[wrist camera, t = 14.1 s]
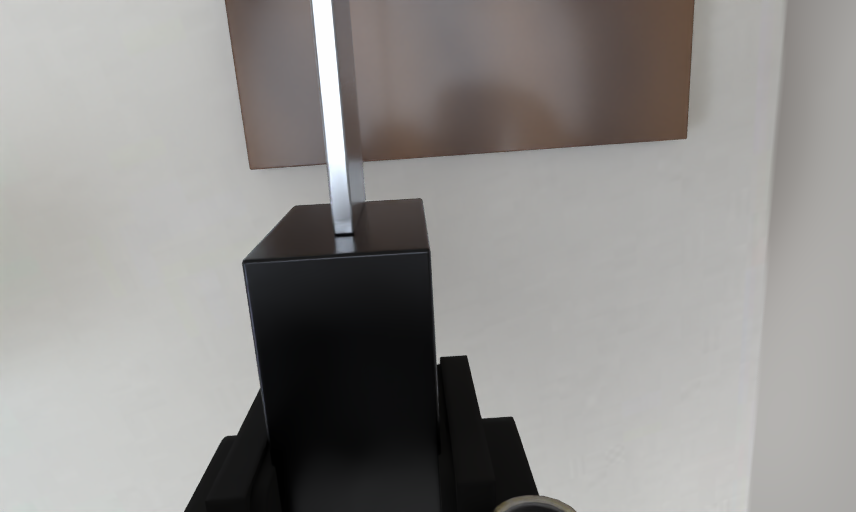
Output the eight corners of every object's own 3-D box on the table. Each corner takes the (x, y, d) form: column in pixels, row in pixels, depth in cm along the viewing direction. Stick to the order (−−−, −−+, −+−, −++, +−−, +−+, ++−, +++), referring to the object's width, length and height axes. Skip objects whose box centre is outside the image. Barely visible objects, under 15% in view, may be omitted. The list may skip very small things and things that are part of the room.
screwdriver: (444, 585, 13) (458, 759, 10) (339, 593, 13) (315, 771, 10) (382, -516, 8) (364, -968, 5) (208, -510, 8) (59, -962, 5)
